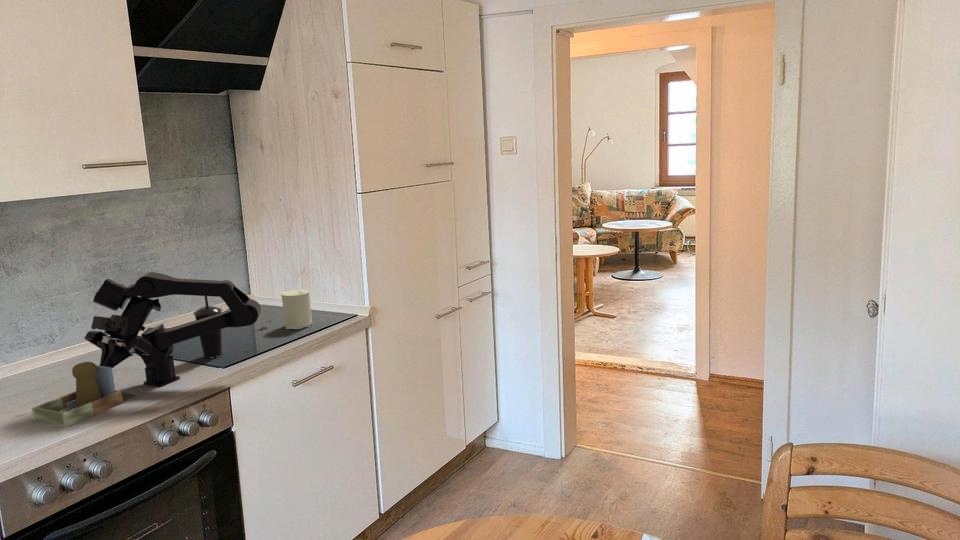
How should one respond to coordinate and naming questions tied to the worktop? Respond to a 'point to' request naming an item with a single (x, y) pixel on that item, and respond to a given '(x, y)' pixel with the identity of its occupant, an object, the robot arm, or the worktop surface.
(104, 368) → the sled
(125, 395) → the pit mat
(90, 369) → the cork
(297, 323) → the can
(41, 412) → the track
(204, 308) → the drinking cup
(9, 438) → the worktop surface
